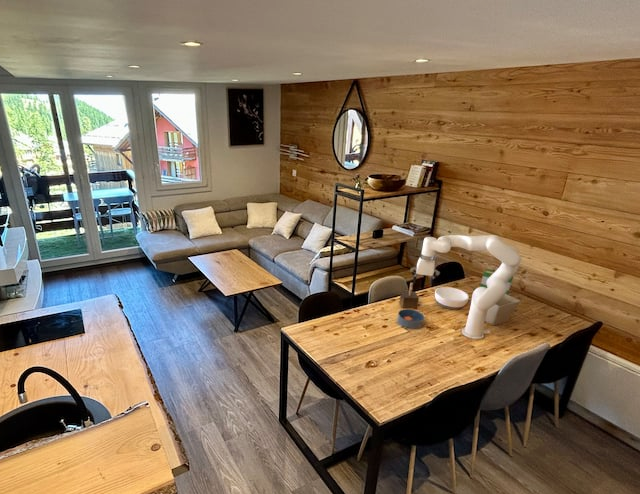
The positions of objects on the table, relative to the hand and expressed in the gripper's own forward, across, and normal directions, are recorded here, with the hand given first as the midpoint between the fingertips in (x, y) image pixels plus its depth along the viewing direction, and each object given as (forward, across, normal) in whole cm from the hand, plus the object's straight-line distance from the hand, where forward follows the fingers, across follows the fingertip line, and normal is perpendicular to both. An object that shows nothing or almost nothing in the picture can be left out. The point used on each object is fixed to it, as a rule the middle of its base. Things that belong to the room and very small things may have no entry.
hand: (422, 282), depth 243 cm
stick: (+30, +4, -25) cm, 39 cm away
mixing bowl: (+30, +3, 0) cm, 30 cm away
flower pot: (+30, -50, -21) cm, 62 cm away
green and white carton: (+30, -55, -45) cm, 77 cm away
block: (+29, +5, +2) cm, 29 cm away
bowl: (+30, -26, -37) cm, 54 cm away
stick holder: (+30, +4, -25) cm, 39 cm away
